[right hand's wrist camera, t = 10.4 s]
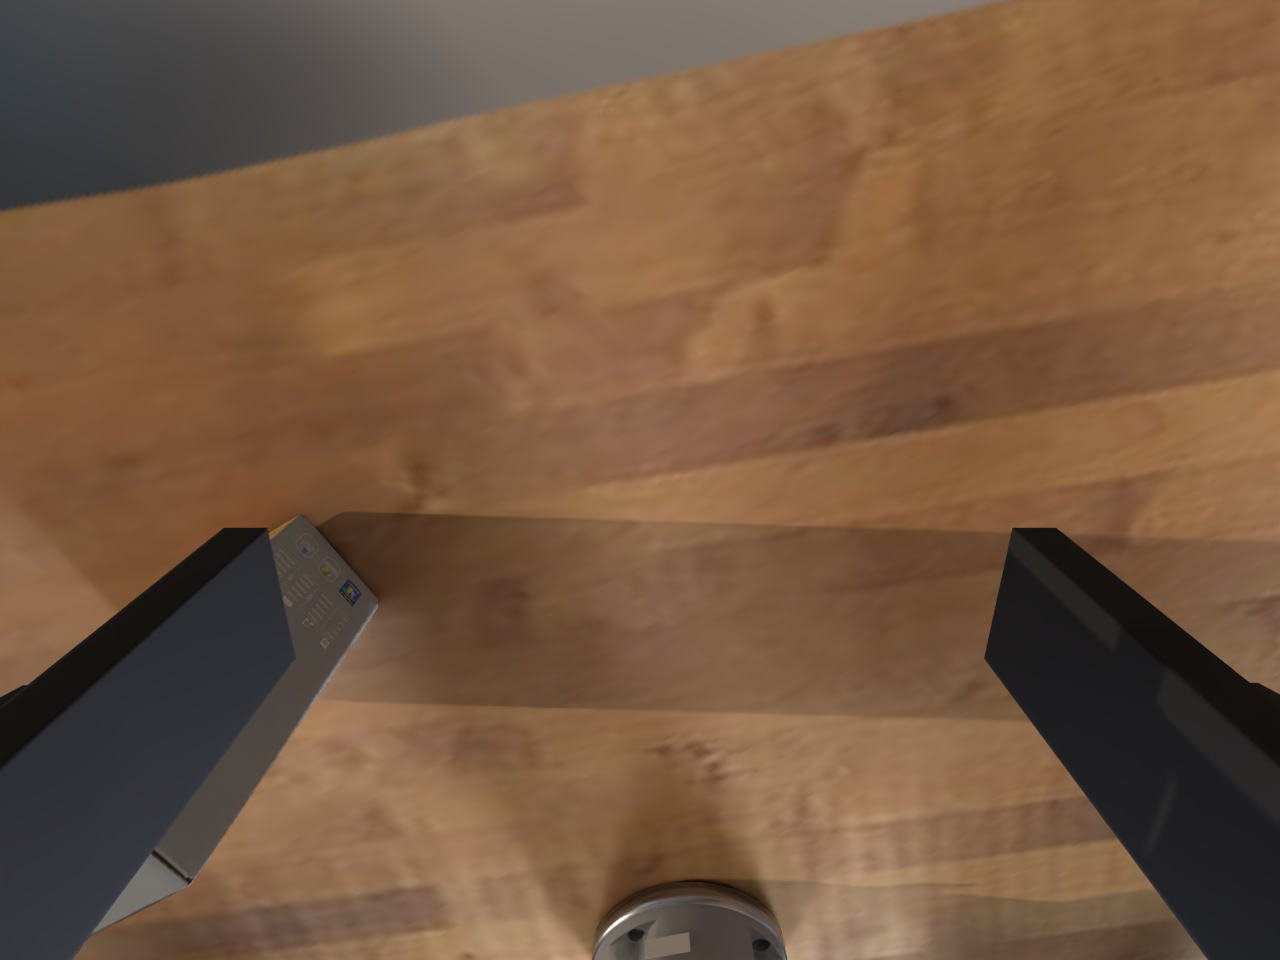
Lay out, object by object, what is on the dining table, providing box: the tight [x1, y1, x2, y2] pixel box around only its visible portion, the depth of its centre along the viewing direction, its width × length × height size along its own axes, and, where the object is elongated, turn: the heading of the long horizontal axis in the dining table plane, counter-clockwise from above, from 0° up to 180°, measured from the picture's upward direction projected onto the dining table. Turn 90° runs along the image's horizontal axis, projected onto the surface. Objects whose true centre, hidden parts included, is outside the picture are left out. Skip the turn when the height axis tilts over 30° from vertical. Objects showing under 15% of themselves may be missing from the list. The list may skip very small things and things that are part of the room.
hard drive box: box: [89, 515, 379, 937], centre depth 36 cm, size 16×8×20 cm, turn 122°
